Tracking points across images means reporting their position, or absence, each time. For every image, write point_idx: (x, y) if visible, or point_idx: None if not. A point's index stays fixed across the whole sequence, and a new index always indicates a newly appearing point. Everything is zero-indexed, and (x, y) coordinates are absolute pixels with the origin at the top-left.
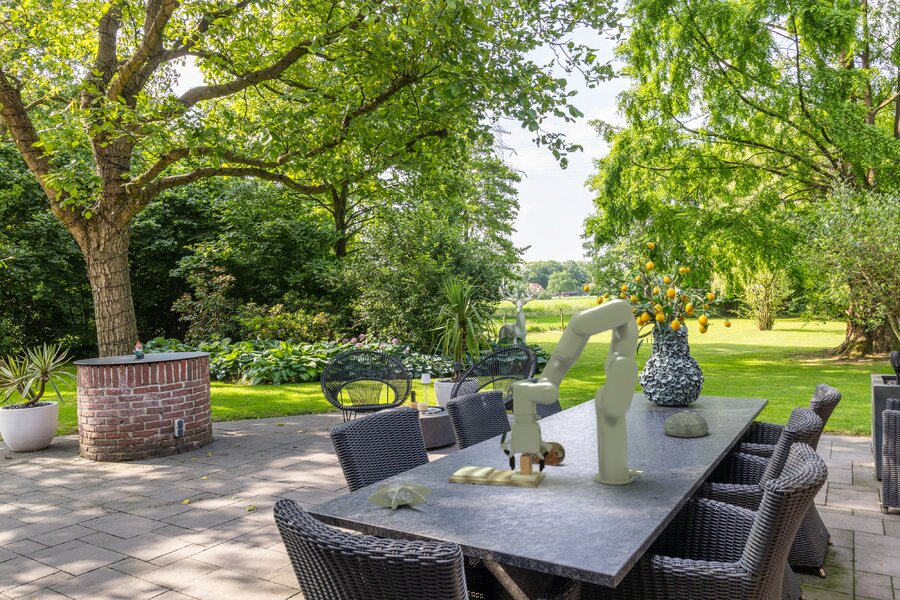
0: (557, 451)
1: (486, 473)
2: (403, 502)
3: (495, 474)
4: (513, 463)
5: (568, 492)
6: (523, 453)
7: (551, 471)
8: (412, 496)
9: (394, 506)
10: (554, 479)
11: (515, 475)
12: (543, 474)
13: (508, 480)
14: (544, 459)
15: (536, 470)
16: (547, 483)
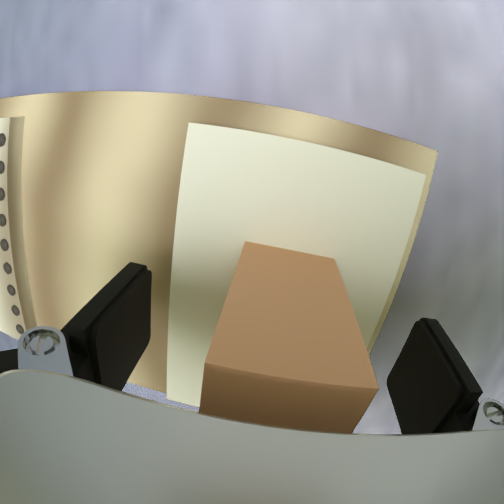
0: None
1: (6, 284)
2: None
3: (41, 229)
4: (128, 360)
5: None
6: (213, 370)
7: (457, 9)
8: None
9: None
10: (471, 232)
11: (188, 369)
12: (421, 206)
13: (155, 374)
14: (477, 403)
15: (376, 220)
16: (410, 326)
